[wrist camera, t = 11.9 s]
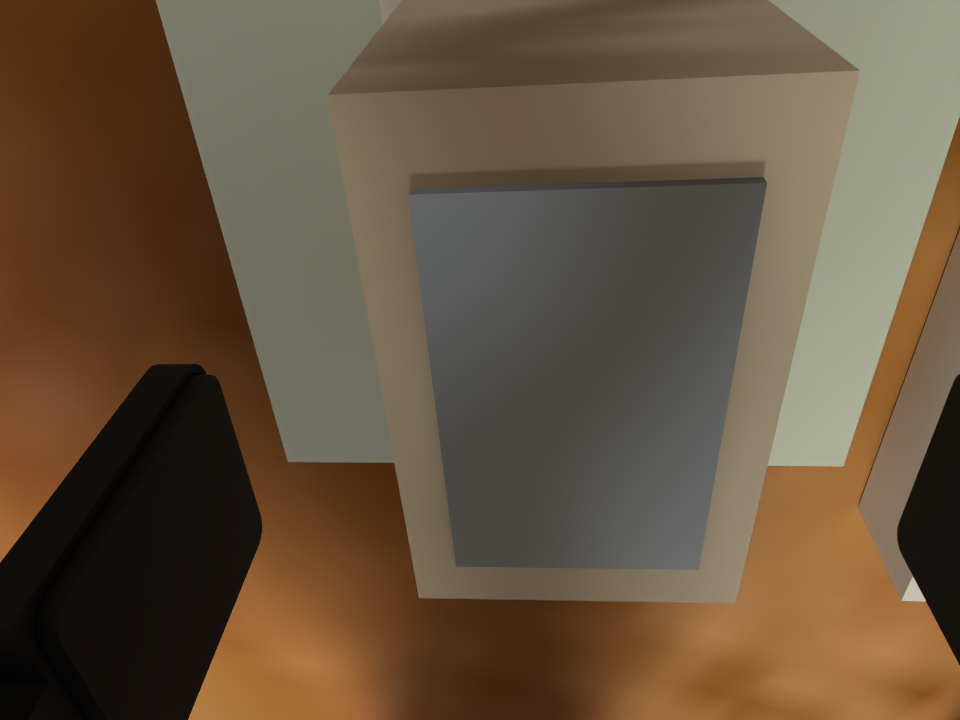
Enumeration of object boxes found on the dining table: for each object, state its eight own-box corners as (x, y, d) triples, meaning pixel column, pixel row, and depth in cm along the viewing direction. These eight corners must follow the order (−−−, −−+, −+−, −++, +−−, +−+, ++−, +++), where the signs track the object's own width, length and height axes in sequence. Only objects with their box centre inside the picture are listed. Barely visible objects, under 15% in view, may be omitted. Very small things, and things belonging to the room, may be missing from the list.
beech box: (702, -50, 13) (865, 75, 7) (664, 322, 18) (737, 611, 11) (427, -34, 14) (324, 99, 7) (461, 326, 18) (417, 606, 12)
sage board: (826, 430, 22) (845, 471, 20) (300, 428, 23) (286, 466, 22) (1093, -458, 11) (1172, -497, 10) (93, -365, 12) (37, -389, 11)
